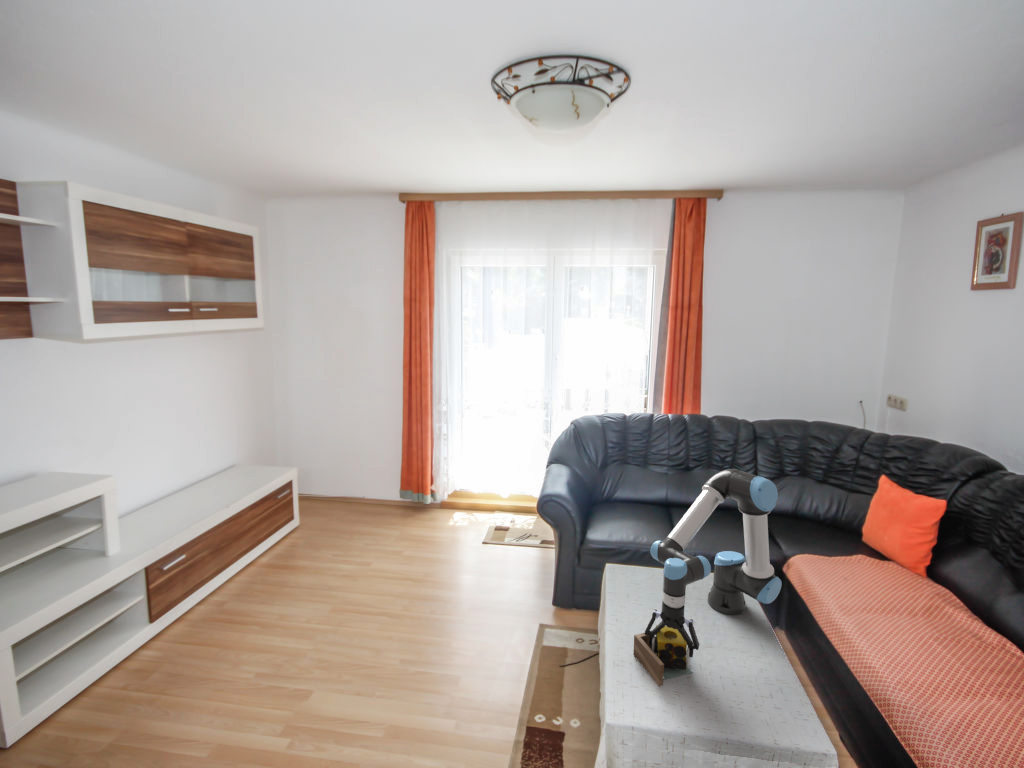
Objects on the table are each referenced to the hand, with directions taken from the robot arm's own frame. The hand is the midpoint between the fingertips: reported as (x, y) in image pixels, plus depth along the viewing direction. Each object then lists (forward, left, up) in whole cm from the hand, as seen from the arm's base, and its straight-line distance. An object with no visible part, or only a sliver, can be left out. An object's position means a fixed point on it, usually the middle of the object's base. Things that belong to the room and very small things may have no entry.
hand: (670, 658), depth 182 cm
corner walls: (-1, -1, -3) cm, 3 cm away
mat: (0, 0, -3) cm, 3 cm away
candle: (0, 0, -1) cm, 1 cm away
